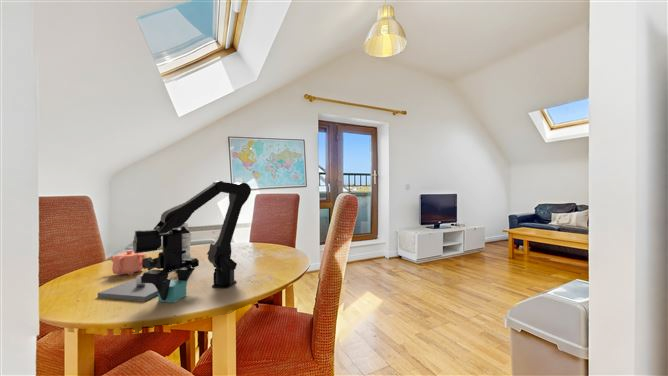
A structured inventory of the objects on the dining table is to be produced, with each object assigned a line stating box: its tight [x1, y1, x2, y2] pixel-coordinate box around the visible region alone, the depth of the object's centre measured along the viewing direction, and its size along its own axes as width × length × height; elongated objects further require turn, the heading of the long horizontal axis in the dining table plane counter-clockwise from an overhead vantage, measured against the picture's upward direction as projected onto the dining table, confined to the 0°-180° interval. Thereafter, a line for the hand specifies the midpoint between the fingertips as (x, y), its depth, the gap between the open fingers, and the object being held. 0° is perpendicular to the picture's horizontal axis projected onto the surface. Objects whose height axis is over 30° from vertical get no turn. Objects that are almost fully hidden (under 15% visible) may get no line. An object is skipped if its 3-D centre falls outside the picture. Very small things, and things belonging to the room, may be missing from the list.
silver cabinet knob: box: [135, 273, 146, 288], centre depth 94 cm, size 3×3×4 cm
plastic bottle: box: [178, 222, 192, 258], centre depth 120 cm, size 6×7×20 cm
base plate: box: [97, 278, 158, 302], centre depth 94 cm, size 18×15×2 cm
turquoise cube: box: [157, 279, 187, 303], centre depth 87 cm, size 6×6×5 cm
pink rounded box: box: [109, 249, 148, 277], centre depth 112 cm, size 12×12×10 cm
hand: (172, 295), depth 87 cm, fingers open, 7 cm apart
